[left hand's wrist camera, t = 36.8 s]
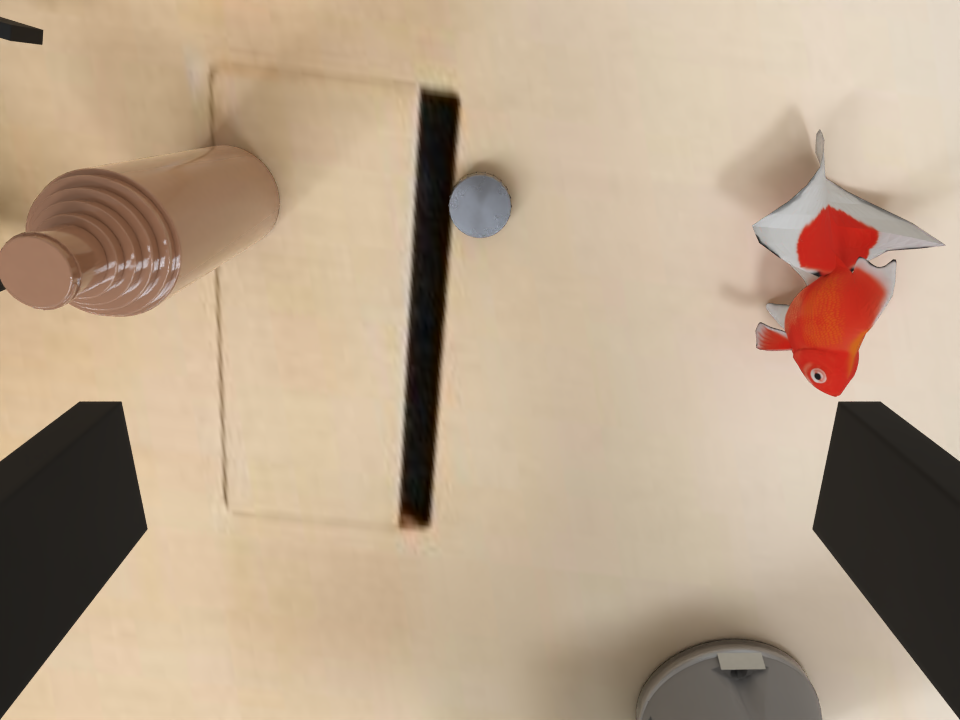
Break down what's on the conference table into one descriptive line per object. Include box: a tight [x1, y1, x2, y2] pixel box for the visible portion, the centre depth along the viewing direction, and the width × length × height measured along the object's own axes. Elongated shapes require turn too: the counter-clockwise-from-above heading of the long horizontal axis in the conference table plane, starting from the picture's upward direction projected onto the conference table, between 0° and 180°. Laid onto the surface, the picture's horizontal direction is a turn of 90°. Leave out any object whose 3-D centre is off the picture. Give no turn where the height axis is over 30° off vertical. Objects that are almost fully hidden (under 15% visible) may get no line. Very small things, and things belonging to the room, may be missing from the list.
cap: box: [448, 172, 512, 238], centre depth 44 cm, size 4×4×2 cm
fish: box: [752, 130, 945, 397], centre depth 42 cm, size 11×16×10 cm
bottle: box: [0, 145, 279, 317], centre depth 35 cm, size 6×6×21 cm
